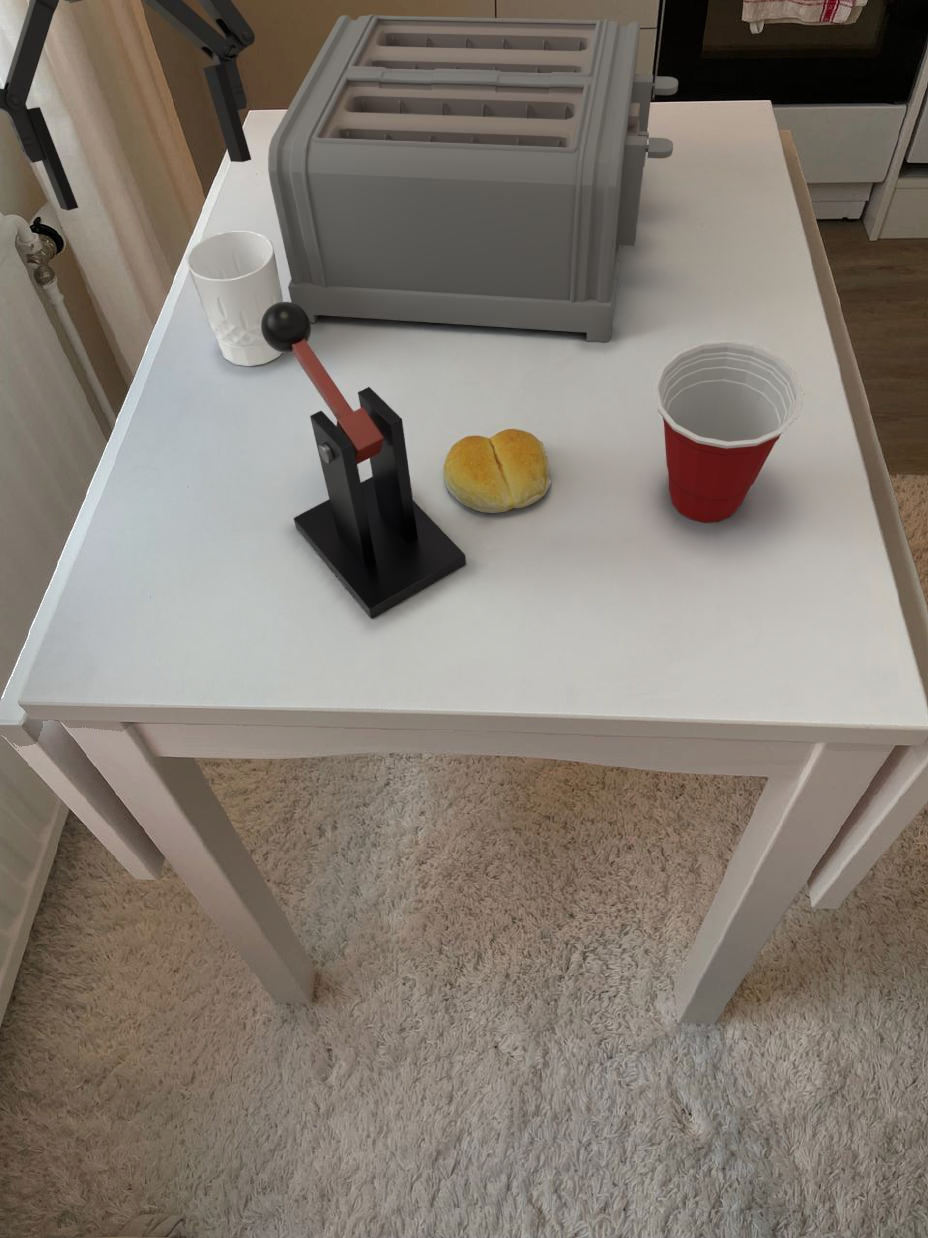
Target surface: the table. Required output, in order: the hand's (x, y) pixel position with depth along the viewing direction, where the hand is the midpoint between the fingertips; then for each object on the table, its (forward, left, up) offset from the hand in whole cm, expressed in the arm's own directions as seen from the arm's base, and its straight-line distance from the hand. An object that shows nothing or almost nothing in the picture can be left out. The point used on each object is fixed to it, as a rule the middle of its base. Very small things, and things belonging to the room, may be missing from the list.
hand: (158, 184), depth 72 cm
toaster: (+33, +12, -22) cm, 41 cm away
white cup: (+5, +8, -22) cm, 24 cm away
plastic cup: (+32, -30, -22) cm, 49 cm away
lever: (+5, -17, -9) cm, 20 cm away
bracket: (+6, -22, -22) cm, 32 cm away
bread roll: (+18, -20, -22) cm, 35 cm away
